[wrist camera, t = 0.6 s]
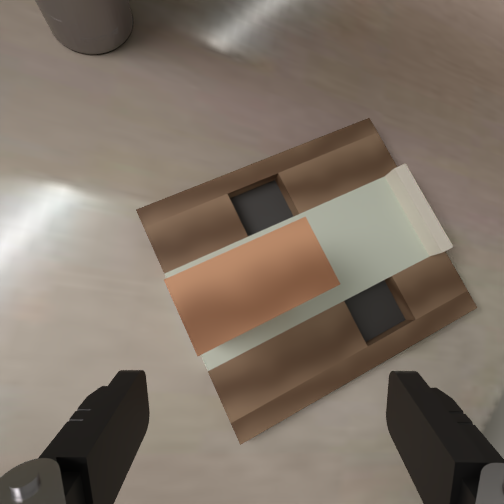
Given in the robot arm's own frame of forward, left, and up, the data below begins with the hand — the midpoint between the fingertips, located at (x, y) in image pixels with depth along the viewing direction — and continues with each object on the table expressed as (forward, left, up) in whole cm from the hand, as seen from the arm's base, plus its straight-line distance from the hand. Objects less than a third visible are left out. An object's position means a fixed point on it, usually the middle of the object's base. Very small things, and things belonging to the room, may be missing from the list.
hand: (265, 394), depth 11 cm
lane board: (-4, +11, -23) cm, 26 cm away
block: (-4, +3, -21) cm, 22 cm away
